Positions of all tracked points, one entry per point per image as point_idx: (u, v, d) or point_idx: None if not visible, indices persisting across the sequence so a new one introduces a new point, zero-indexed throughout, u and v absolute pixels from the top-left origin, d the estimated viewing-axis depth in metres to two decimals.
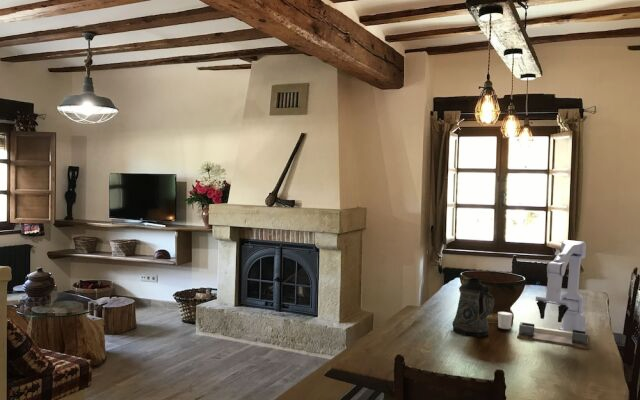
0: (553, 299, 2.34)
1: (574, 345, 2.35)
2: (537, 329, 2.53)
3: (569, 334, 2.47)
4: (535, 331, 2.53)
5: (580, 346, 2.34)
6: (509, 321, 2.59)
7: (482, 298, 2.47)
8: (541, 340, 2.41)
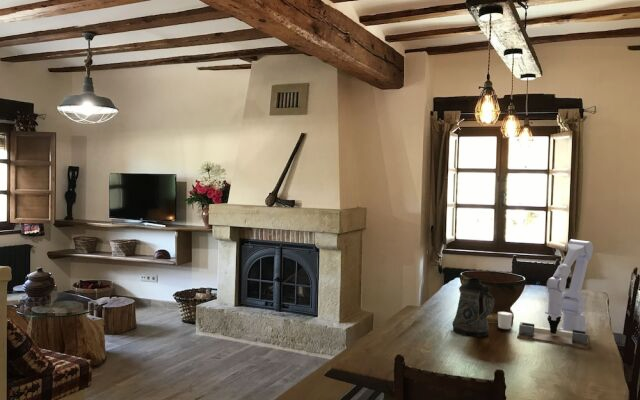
0: (548, 312, 2.51)
1: (574, 345, 2.35)
2: (537, 329, 2.53)
3: (569, 334, 2.47)
4: (535, 331, 2.53)
5: (580, 346, 2.34)
6: (509, 321, 2.59)
7: (482, 298, 2.47)
8: (541, 340, 2.41)
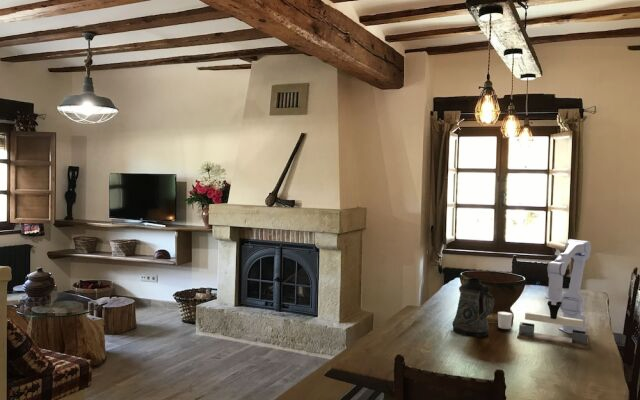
0: (548, 297, 2.45)
1: (574, 345, 2.35)
2: (537, 315, 2.47)
3: (569, 320, 2.41)
4: (535, 317, 2.48)
5: (580, 346, 2.34)
6: (509, 321, 2.59)
7: (482, 298, 2.47)
8: (541, 340, 2.41)
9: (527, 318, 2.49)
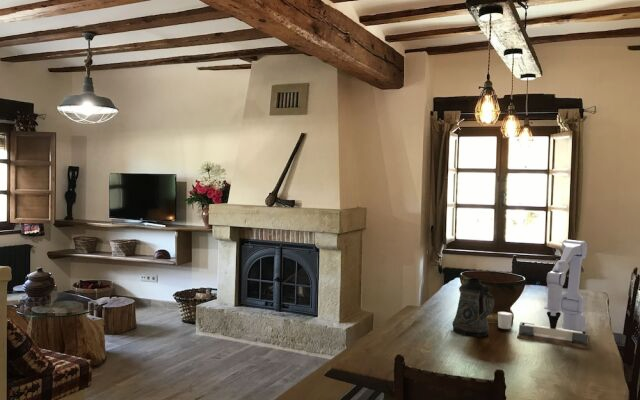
0: (547, 307, 2.43)
1: (574, 345, 2.35)
2: (536, 327, 2.45)
3: (569, 333, 2.39)
4: (534, 329, 2.45)
5: (580, 346, 2.34)
6: (509, 321, 2.59)
7: (482, 298, 2.47)
8: (541, 340, 2.41)
9: None
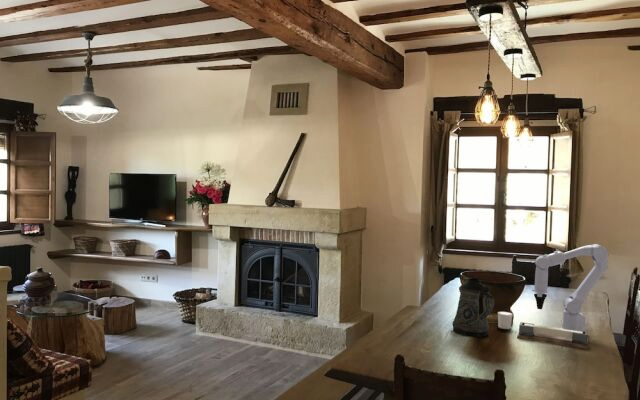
0: (534, 289, 2.62)
1: (574, 345, 2.35)
2: (536, 327, 2.45)
3: (569, 333, 2.39)
4: (534, 329, 2.45)
5: (580, 346, 2.34)
6: (509, 321, 2.59)
7: (482, 298, 2.46)
8: (541, 340, 2.41)
9: None
